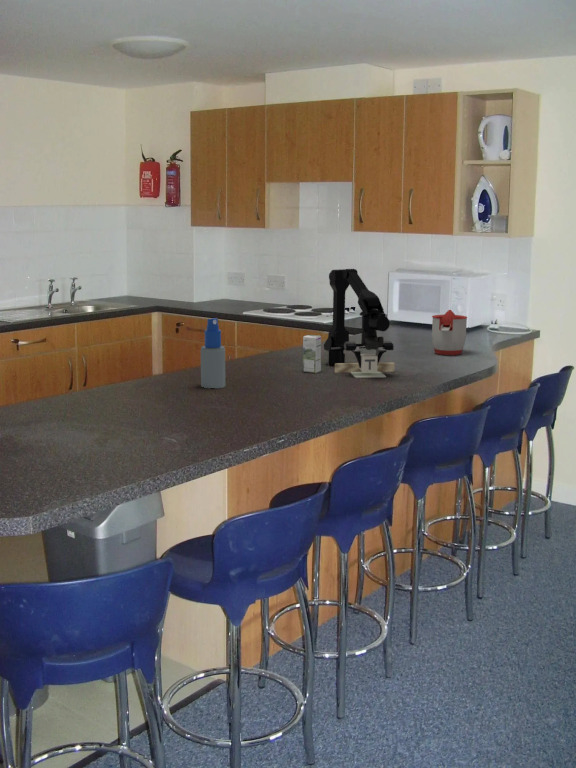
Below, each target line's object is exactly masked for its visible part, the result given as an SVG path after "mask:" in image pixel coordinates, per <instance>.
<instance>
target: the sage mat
mask: <svg viewBox="0 0 576 768" xmlns="http://www.w3.org/2000/svg"><path fill="white" fill-rule="evenodd" d="M350 374H351V375H352V376H353V377H354V378H356V379H358V378H359V379H360V378H363V379H365V378H366V379H367V378H387V376H386V375H385V374H384V372H350Z"/></svg>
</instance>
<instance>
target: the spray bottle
mask: <svg viewBox="0 0 576 768" xmlns="http://www.w3.org/2000/svg"><path fill="white" fill-rule="evenodd" d="M200 387H201V388H203V387H204V389H210V388H215V389H223V388H225V387H226V348H225V346H223V345H222V330H221V329H220V327H219V320H218V317H212V318H207V324H206V329H205V330H204V345H203V346H201V348H200Z"/></svg>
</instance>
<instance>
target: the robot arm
mask: <svg viewBox="0 0 576 768" xmlns="http://www.w3.org/2000/svg"><path fill="white" fill-rule="evenodd" d="M328 280H329V281H328V282H329V286H330V287H331V290H332V291H333V293H332V294H333V295H332V298H333V299H332V325H331V328H330V329H329V331H328V334H327V339H325V342H324V344H323V350H325V351H327V362H326V364H327V365H328V366H333V367H335V363H346V353H345V352H344V351H348V352H350V351H351V352H352V353H354V355H355V358H356V361H357V363H358V364H359V367H360V368H361V357H360V354H362V353H361V352H362V351H361V350H360V349H366V350H367V351H371V350H375V351H376V352H375V355H377V356H378V360H377V366H378V363H380V360H381V358H382V356H383V354H384V353H387V351H394V350H395V349H394V347H395V346H394V343H393V342H392V341H390V340H384V336H378V335H377V332H386V331H387V330H388V329H389V327H390V324H391V322H390V319H389V318H388V317H387V316H386V313H385V311H384V307H383V305H382V302H381V300H380V298H379V296H378V295H377V294H376V293H375V292H373V291H371V290H370V289H368V286H366V284H365V283H364V281H363V279H361V276H360V275H359V274H358V270H357V269H355V268H345V269H332V270H331V271H330V272H329V273H328ZM349 286H350V287H351V289H352V290H353V292H354V294H355V295H356V296H357V298H358V299H357V304H358V307H359V308H360V310H361V312H360V313H359V316H361V340H360V341H361V342H360V343H356V342H355V341H350V332H349V330H347V328H346V326H345V325H346V324H345V319H346V313H345V312H346V291H347V290H348V288H349Z"/></svg>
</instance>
